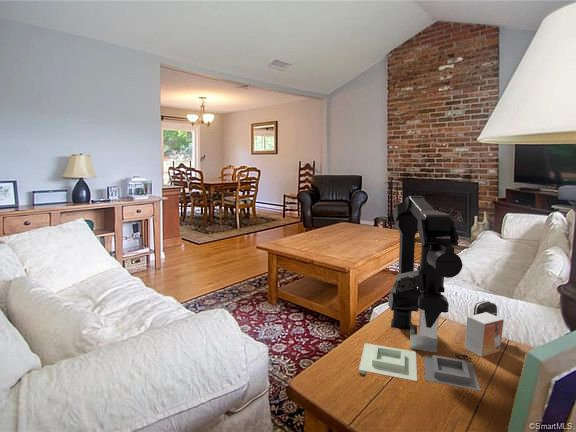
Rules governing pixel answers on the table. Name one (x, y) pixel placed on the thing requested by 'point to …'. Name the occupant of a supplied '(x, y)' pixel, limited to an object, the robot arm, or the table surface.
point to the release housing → (422, 341)
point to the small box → (483, 334)
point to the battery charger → (485, 308)
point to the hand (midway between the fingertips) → (428, 323)
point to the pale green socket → (388, 361)
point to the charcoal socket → (450, 372)
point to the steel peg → (423, 329)
